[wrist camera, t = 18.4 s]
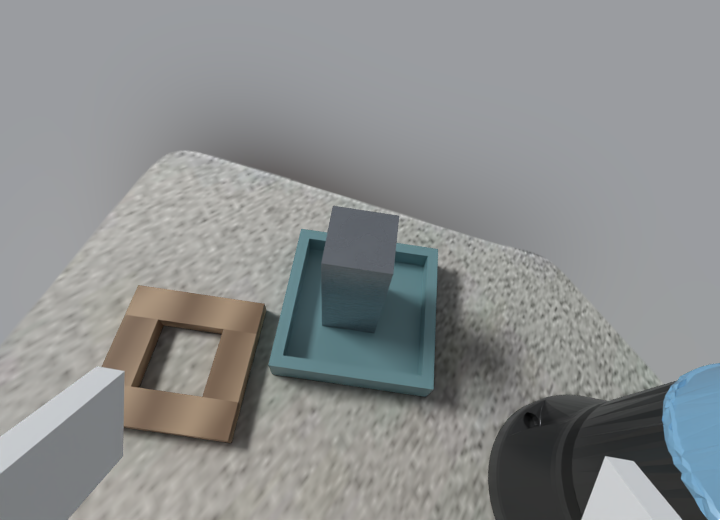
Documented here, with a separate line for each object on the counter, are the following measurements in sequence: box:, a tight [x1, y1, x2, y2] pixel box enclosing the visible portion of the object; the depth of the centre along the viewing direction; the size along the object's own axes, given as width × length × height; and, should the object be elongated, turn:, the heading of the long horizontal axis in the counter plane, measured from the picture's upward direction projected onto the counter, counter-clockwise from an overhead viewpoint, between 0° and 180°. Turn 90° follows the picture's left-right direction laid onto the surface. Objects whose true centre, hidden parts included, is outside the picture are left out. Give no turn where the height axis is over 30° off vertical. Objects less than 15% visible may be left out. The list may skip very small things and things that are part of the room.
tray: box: [268, 229, 438, 397], centre depth 39 cm, size 14×14×3 cm
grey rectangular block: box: [321, 206, 399, 333], centre depth 34 cm, size 5×5×12 cm
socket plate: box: [102, 285, 266, 443], centre depth 36 cm, size 12×12×2 cm
